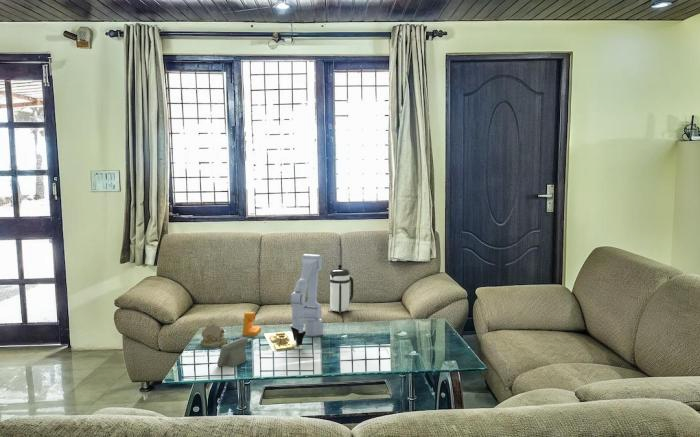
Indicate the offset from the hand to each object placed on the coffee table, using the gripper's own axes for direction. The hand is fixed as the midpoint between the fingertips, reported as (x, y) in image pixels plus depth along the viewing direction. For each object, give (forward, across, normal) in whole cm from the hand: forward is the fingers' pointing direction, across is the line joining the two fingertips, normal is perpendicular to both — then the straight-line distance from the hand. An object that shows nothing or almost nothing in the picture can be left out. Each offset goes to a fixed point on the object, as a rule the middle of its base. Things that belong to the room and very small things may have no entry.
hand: (297, 342), depth 259 cm
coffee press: (+3, -57, +40) cm, 70 cm away
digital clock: (+3, +11, -33) cm, 35 cm away
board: (+2, -10, -6) cm, 12 cm away
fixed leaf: (+2, -2, -7) cm, 8 cm away
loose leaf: (+2, -13, -7) cm, 15 cm away
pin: (+2, 0, 0) cm, 2 cm away
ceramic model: (+3, -19, -40) cm, 44 cm away
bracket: (+3, -28, -19) cm, 34 cm away
